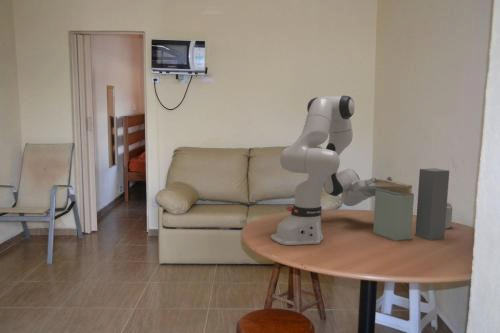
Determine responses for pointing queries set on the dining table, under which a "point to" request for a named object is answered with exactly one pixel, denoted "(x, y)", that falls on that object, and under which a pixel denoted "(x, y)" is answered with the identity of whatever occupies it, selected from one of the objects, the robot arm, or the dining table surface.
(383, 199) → the grey block
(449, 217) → the can
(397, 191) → the bar
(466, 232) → the dining table surface
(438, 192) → the pedestal
